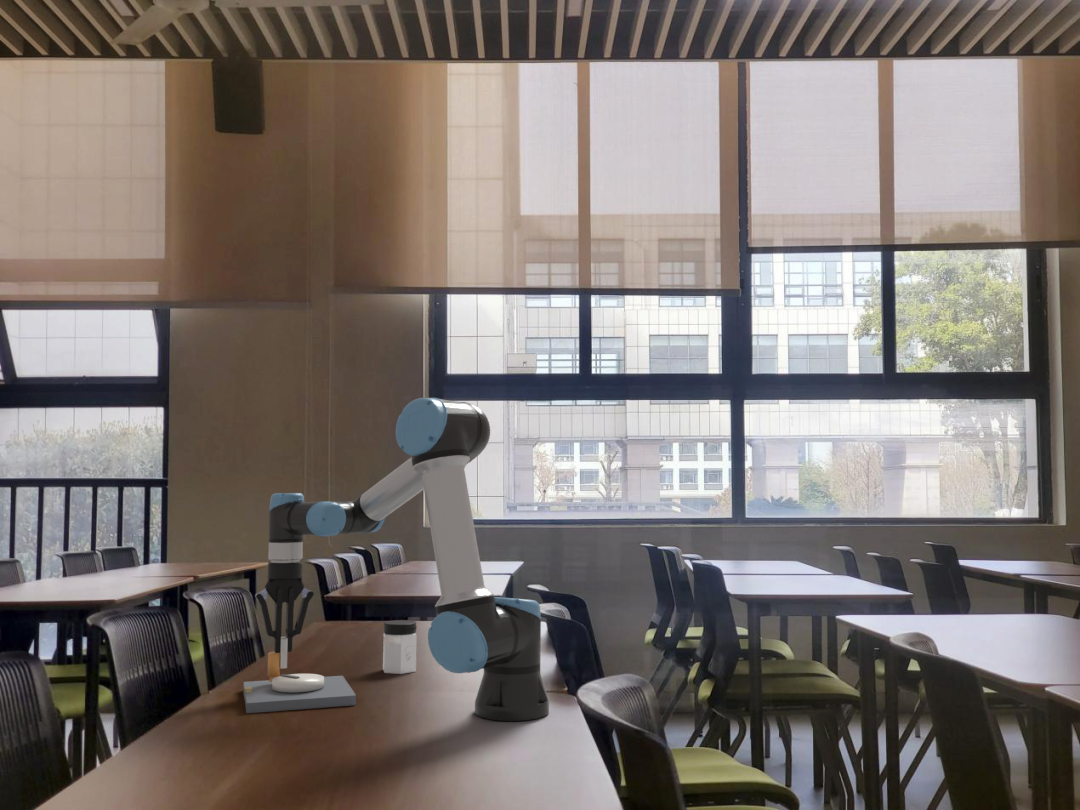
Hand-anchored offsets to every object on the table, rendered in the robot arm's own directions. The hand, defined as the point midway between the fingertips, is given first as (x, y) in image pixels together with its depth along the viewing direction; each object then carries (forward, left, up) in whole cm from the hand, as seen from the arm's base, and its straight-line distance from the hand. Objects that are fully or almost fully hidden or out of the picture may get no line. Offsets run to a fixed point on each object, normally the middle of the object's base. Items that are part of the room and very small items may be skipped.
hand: (282, 667), depth 204 cm
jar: (+16, -29, -6) cm, 34 cm away
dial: (-5, -2, -3) cm, 7 cm away
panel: (-7, -3, -5) cm, 9 cm away
